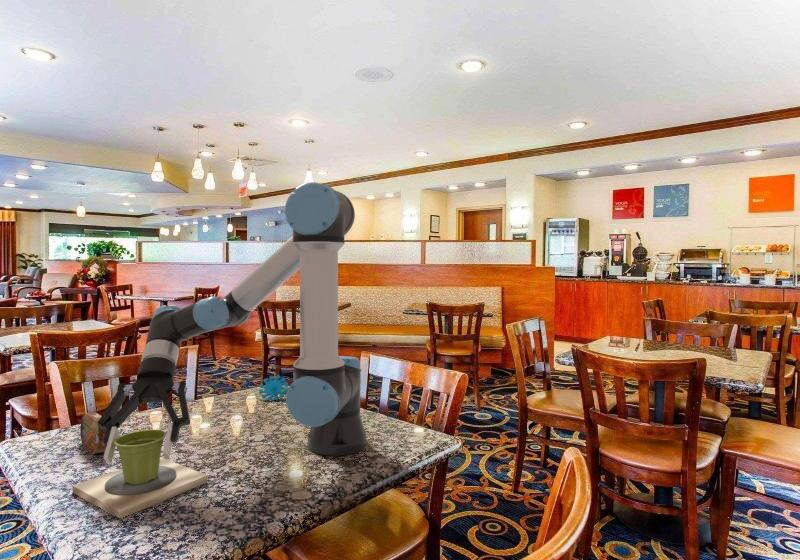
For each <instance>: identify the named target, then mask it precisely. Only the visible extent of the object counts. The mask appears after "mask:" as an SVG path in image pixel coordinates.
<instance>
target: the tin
mask: <svg viewBox="0 0 800 560" xmlns="http://www.w3.org/2000/svg"><path fill="white" fill-rule="evenodd" d="M101 416H102V415H101V414H100V413H98V412H89V413H88V412H87V413H86V412H85V413H84V414H83V415H82V417H81V419H80V431H79V433H80V441H81V442H80V443H81V445H82V446H83V448H84V449H86V451H88V452H89V453H90V454H91V455H96V454H102V453H105V450H106V447H107V446H105V445H104V443H103V440H104V436H105V432H106V430H102V429H101V427H100V426H99V424H98V421H99V419H100V418H101Z"/></svg>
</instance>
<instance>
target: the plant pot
mask: <svg viewBox="0 0 800 560" xmlns="http://www.w3.org/2000/svg"><path fill="white" fill-rule="evenodd" d="M166 435H167V432H166V431H164V430H161V429H143V430H138V431H132V432H128V433H125V434H122V435H119V436H118V438H117V439H115V440H114V444H115V445H116V450H117V451H118V453H119V458H120V463H121V469H123V475H124V480H125V483H130V484H142V483H146V482H149V481H150V480H151V479H155V478H156V477H157V476H158V472H159V463H160V457H161V456H162V455H161V454H162V449H163V448H162V446H163V444H164V442H165V441H164V440H165V439H166Z"/></svg>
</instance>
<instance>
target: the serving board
mask: <svg viewBox="0 0 800 560" xmlns="http://www.w3.org/2000/svg"><path fill="white" fill-rule="evenodd" d="M207 483H208V474H205V473H202V472H200V471H197V470H194V469H192V468H189V467H187V466H184V465H182V464H179V463H177V462H174V461H173V460H170V459H165V458H164V457H161V456H160V463H159V472H158V476H157V477H156V478H155V479H151V480H150V481H149V482H146V483H142V484H130V483H125V480H124V475H123V469H122V468H120V469H117V470H114V471H112V472H109V473H105V474H102V475H100V476H96V477H94V478H90V479H87V480H85V481H82V482H79V483H76V484H72V486H71V488H72V489H71V490H72V491H71V492H72V494H73V493H74V494H73V495H75V494H76V496H77V495H78V496H77V497H79V498H81V499H82V498H83V500H84V499H85V500H84V501H86V502H88V501H89V502H88V503H89V504H91V503H92V504H91V505H93V504H94V505H93V506H95V505H96V506H95V507H97V506H98V507H100V508H101V509H100V508H99V509H100V510H102V509H103V510H102V511H104V510H105V511H104V512H106V511H107V512H109V513H111V514H112V515H111V514H110V515H111V516H113V515H114V516H113V517H115V516H116V517H118V518H122V519H124V518H126V517H125V516H127V517H129V516H131V514H132V515H133V513H134V514H136V513H138V511H139V512H140V511H144V510H146V509H148V508H150V507H152V506H155V505H157V504H159V503H161V502H164V501H166V500H170V499H171V498H174V497H176V496H178V495H180V494H183V493H185V492H187V491H190V490H193V489H194V488H197V487H200V486H202V485H204V484H207ZM98 507H97V508H98ZM107 512H106V513H107ZM135 512H136V513H135ZM109 513H108V514H109ZM128 515H129V516H128ZM116 517H115V518H116ZM123 517H124V518H123ZM118 518H117V519H118Z"/></svg>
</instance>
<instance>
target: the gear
mask: <svg viewBox="0 0 800 560" xmlns="http://www.w3.org/2000/svg"><path fill="white" fill-rule="evenodd" d="M262 381H263V383H259V386H258V387H259V388H260V389H259V391H258V394H259V395H261V398H262V400H263V399H266V400H267V402H271V401H270V400H272V398H273V401H274V400H277V401H279V398H278V395H279V397H280V398H281V399H282V398H284V397H285V396H286V393H287V390H288V386H289V383H288V382H289V381H286V378H285V377H283V376H282V377H281V376H280V375H279V374H277V375H276V376H275V378H274V375H269V381H268V379H267V378H264V379H262ZM264 383H265V385H264ZM263 389H264V390H263Z"/></svg>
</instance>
